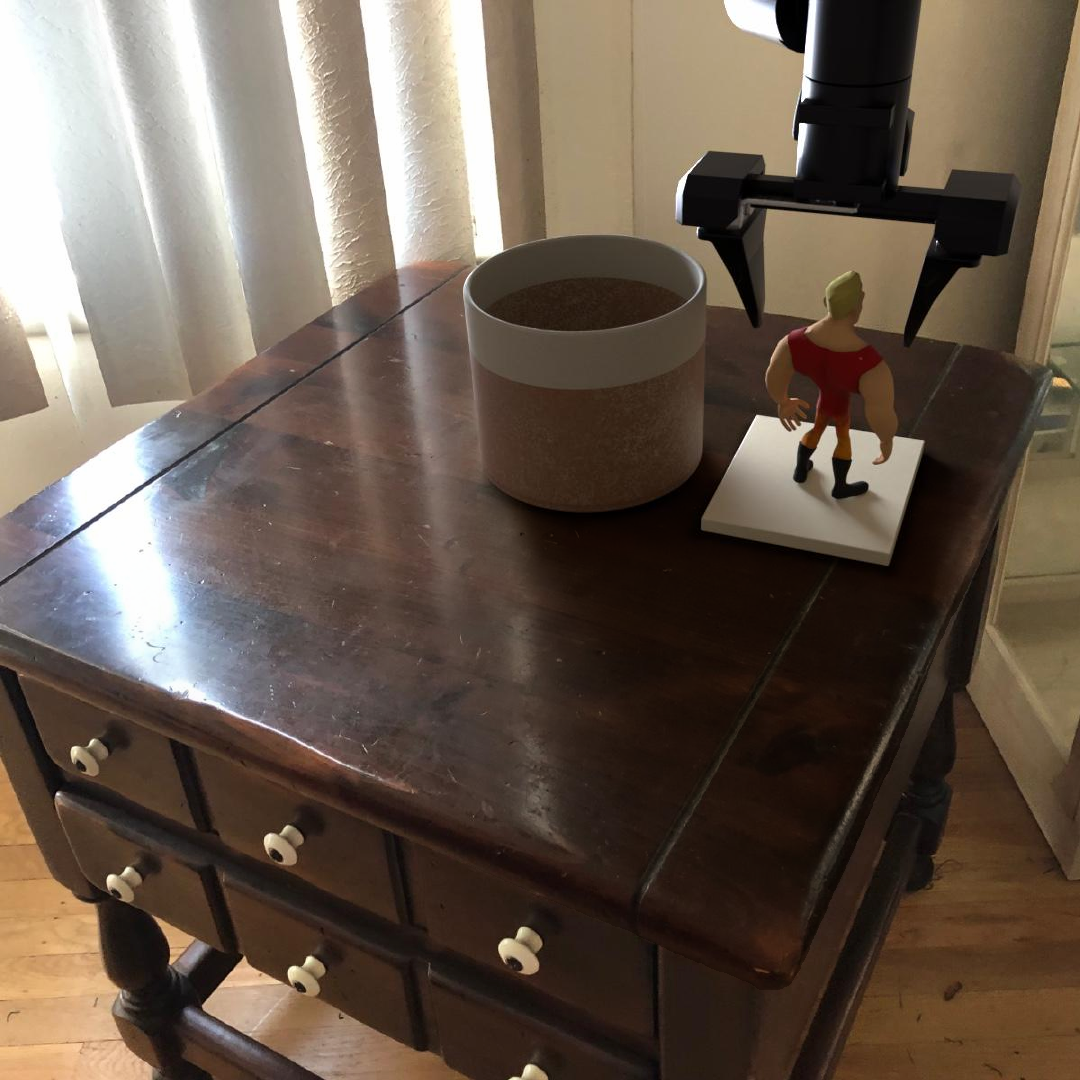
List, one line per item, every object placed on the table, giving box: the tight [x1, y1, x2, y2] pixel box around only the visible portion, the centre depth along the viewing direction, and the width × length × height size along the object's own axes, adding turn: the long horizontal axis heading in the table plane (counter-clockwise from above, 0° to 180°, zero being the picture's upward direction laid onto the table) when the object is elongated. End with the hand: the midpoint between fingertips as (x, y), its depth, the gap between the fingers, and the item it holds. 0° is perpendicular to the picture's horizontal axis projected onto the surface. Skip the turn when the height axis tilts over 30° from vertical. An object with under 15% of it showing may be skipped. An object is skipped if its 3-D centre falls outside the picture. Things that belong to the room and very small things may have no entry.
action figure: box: [765, 270, 899, 499], centre depth 73 cm, size 10×4×15 cm, turn 45°
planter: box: [462, 233, 708, 514], centre depth 79 cm, size 16×16×14 cm
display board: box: [700, 414, 926, 567], centre depth 78 cm, size 12×14×1 cm
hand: (830, 335), depth 71 cm, fingers open, 9 cm apart
